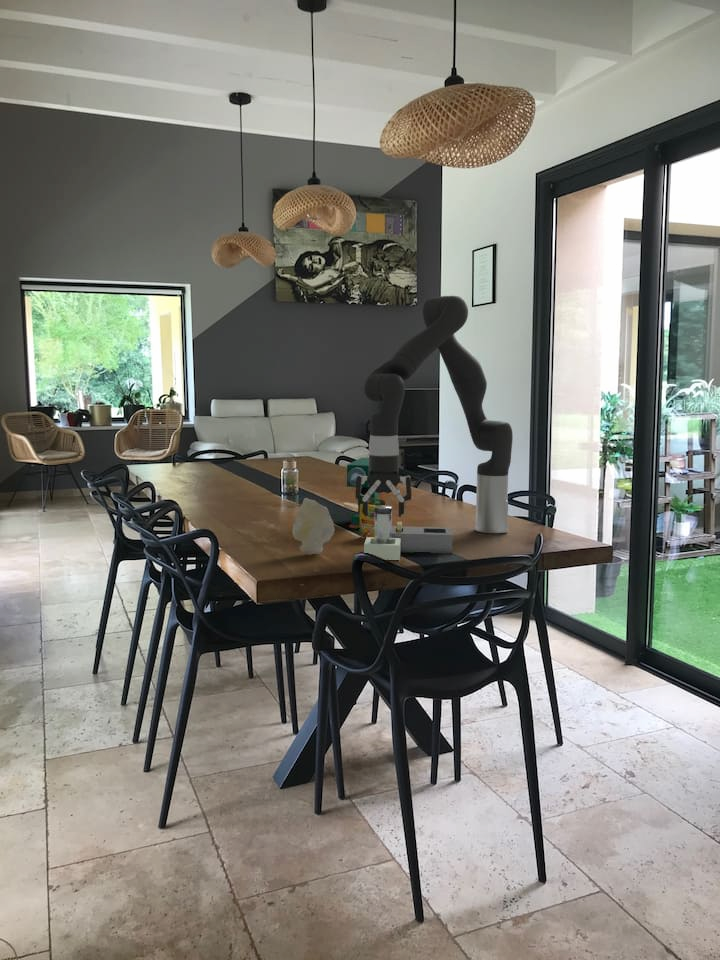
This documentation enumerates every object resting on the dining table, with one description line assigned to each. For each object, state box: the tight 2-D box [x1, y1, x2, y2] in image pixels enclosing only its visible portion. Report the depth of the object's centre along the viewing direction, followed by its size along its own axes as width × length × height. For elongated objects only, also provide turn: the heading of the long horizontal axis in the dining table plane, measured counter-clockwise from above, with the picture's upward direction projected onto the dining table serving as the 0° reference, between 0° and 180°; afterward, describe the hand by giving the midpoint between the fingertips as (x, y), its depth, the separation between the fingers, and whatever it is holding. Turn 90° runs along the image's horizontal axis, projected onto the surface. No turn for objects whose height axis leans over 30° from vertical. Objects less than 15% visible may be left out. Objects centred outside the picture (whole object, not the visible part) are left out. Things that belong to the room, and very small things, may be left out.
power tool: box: [346, 457, 379, 528], centre depth 239 cm, size 32×7×20 cm, turn 168°
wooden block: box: [396, 521, 403, 532], centre depth 212 cm, size 1×4×6 cm, turn 176°
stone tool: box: [292, 497, 336, 555], centre depth 203 cm, size 11×4×15 cm, turn 97°
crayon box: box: [359, 498, 386, 537], centre depth 223 cm, size 7×3×12 cm, turn 49°
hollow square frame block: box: [363, 537, 401, 562], centre depth 202 cm, size 9×9×4 cm
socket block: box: [392, 525, 453, 554], centre depth 212 cm, size 18×10×5 cm, turn 86°
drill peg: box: [374, 504, 393, 544], centre depth 202 cm, size 5×5×13 cm
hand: (383, 515), depth 201 cm, fingers open, 8 cm apart
